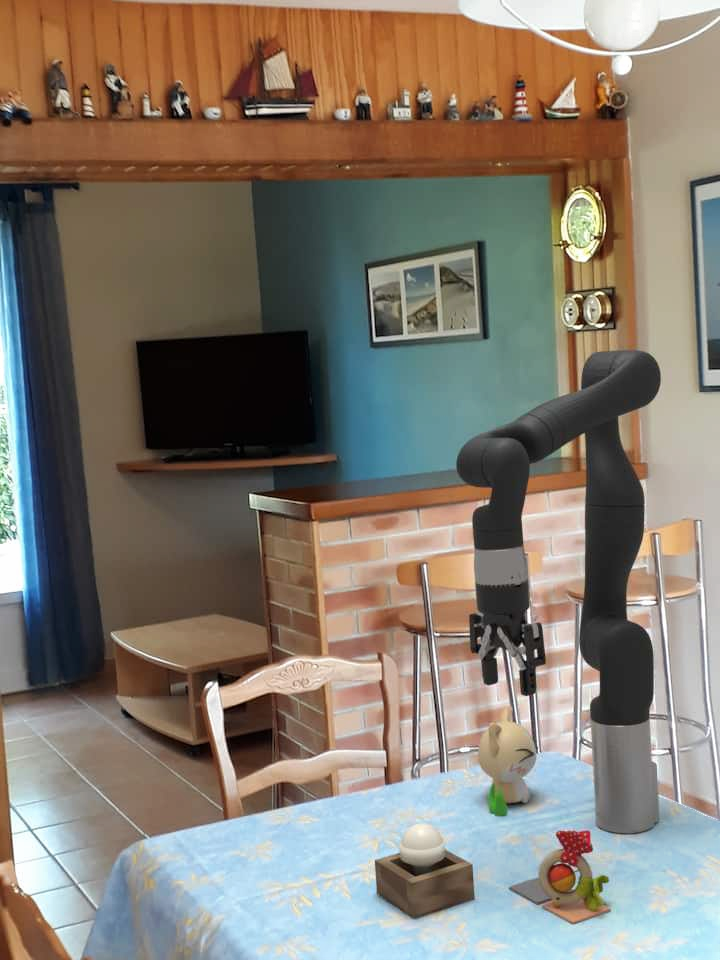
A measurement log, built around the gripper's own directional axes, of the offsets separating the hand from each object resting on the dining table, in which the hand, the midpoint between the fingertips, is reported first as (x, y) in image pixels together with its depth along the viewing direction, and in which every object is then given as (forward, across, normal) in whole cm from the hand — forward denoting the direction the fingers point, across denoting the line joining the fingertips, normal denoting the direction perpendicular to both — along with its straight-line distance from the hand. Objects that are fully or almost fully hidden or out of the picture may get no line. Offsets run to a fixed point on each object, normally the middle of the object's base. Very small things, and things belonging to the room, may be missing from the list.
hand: (509, 689), depth 171 cm
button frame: (+27, -3, -15) cm, 31 cm away
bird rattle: (+28, +13, -2) cm, 30 cm away
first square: (+28, +6, -1) cm, 28 cm away
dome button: (+24, -3, -15) cm, 29 cm away
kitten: (+28, -25, +18) cm, 42 cm away
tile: (+28, +13, -2) cm, 31 cm away
